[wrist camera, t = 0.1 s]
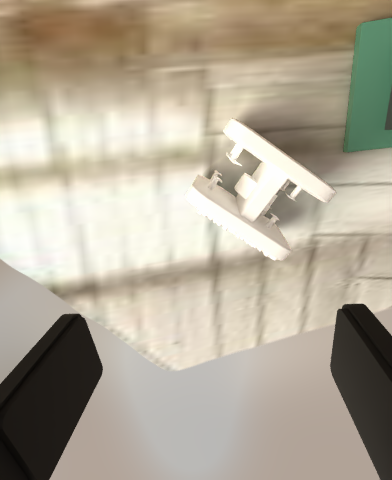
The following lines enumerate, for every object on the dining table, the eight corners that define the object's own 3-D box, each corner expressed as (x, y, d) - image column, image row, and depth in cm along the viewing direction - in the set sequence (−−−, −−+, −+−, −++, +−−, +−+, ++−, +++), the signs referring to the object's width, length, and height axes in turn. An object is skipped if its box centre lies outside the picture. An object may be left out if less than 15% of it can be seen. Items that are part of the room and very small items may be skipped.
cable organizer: (312, 180, 36) (350, 198, 25) (267, 234, 40) (283, 269, 29) (229, 121, 34) (233, 114, 23) (190, 184, 38) (178, 203, 27)
